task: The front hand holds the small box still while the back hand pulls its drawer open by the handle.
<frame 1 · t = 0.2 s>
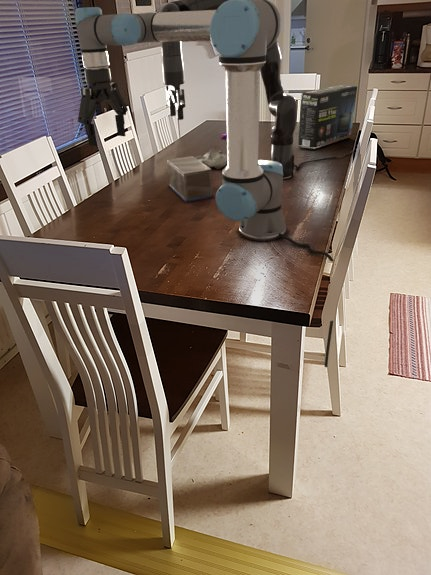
front hand: (107, 140, 148), 28 cm above the table, tool pointing down, fingers open, 13 cm apart
back hand: (176, 117, 170), 29 cm above the table, tool pointing down, fingers open, 8 cm apart
fossil: (212, 164, 218), on the table
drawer: (184, 174, 188), point 6 cm above the table, slide at 0.9 cm
router box: (325, 143, 245), on the table
handgun: (232, 140, 258), on the table
small box: (190, 191, 186), on the table
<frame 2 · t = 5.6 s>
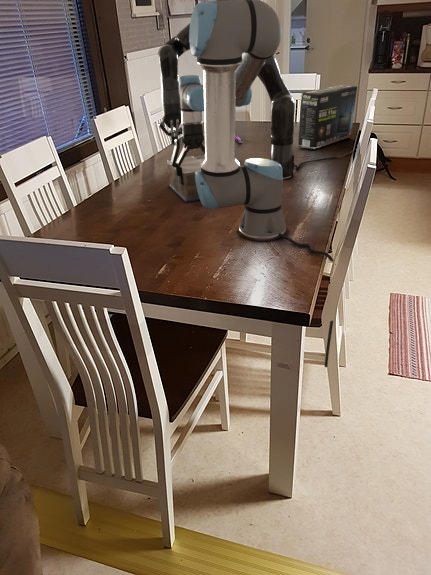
front hand: (195, 181, 177), 6 cm above the table, tool pointing down, fingers closed on small box, 11 cm apart
back hand: (174, 145, 191), 15 cm above the table, tool pointing down, fingers closed
small box: (190, 191, 186), on the table, touching front hand
everything else where it was.
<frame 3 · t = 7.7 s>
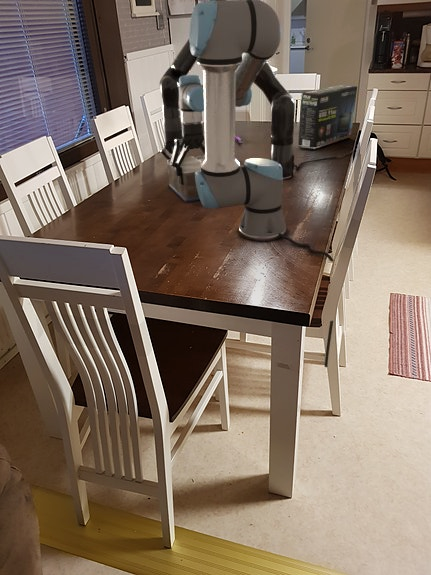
front hand: (195, 181, 177), 6 cm above the table, tool pointing down, fingers closed on small box, 11 cm apart
back hand: (176, 170, 197), 4 cm above the table, tool pointing down, fingers closed
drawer: (184, 174, 188), point 6 cm above the table, slide at 1.0 cm, touching back hand
small box: (190, 191, 186), on the table, touching front hand
everything else where it was.
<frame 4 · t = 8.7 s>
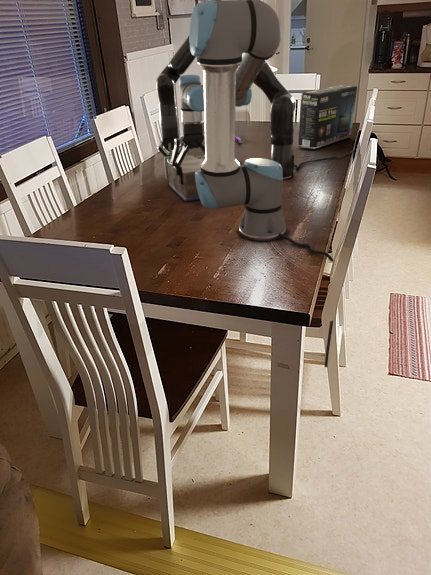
front hand: (195, 181, 177), 7 cm above the table, tool pointing down, fingers closed on small box, 11 cm apart
back hand: (173, 166, 201), 5 cm above the table, tool pointing down, fingers closed
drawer: (180, 170, 192), point 6 cm above the table, slide at 5.6 cm, touching back hand
small box: (190, 190, 186), on the table, touching front hand
everything else where it was.
when the front hand's fingers open (6 cm above the table, at t = 10.3 s): small box stays where it is, on the table.
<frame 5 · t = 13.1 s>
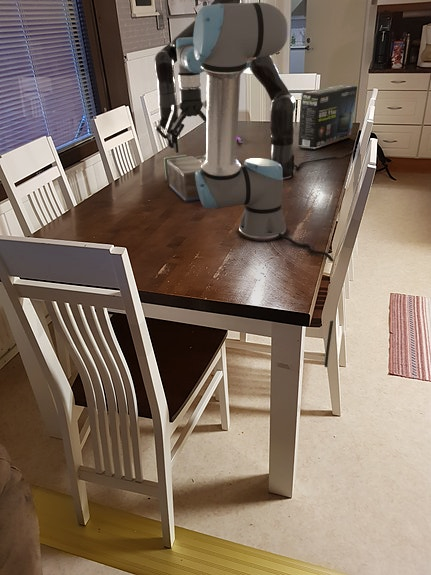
front hand: (193, 149, 171), 19 cm above the table, tool pointing down, fingers open, 13 cm apart
back hand: (171, 147, 197), 13 cm above the table, tool pointing down, fingers closed
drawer: (180, 171, 192), point 6 cm above the table, slide at 5.6 cm
small box: (190, 191, 186), on the table
everything else where it was.
at the end: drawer slide at 5.6 cm; small box tilted 0°; small box never tilted more than 2° during the clip; small box moved 0.2 cm from its start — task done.
